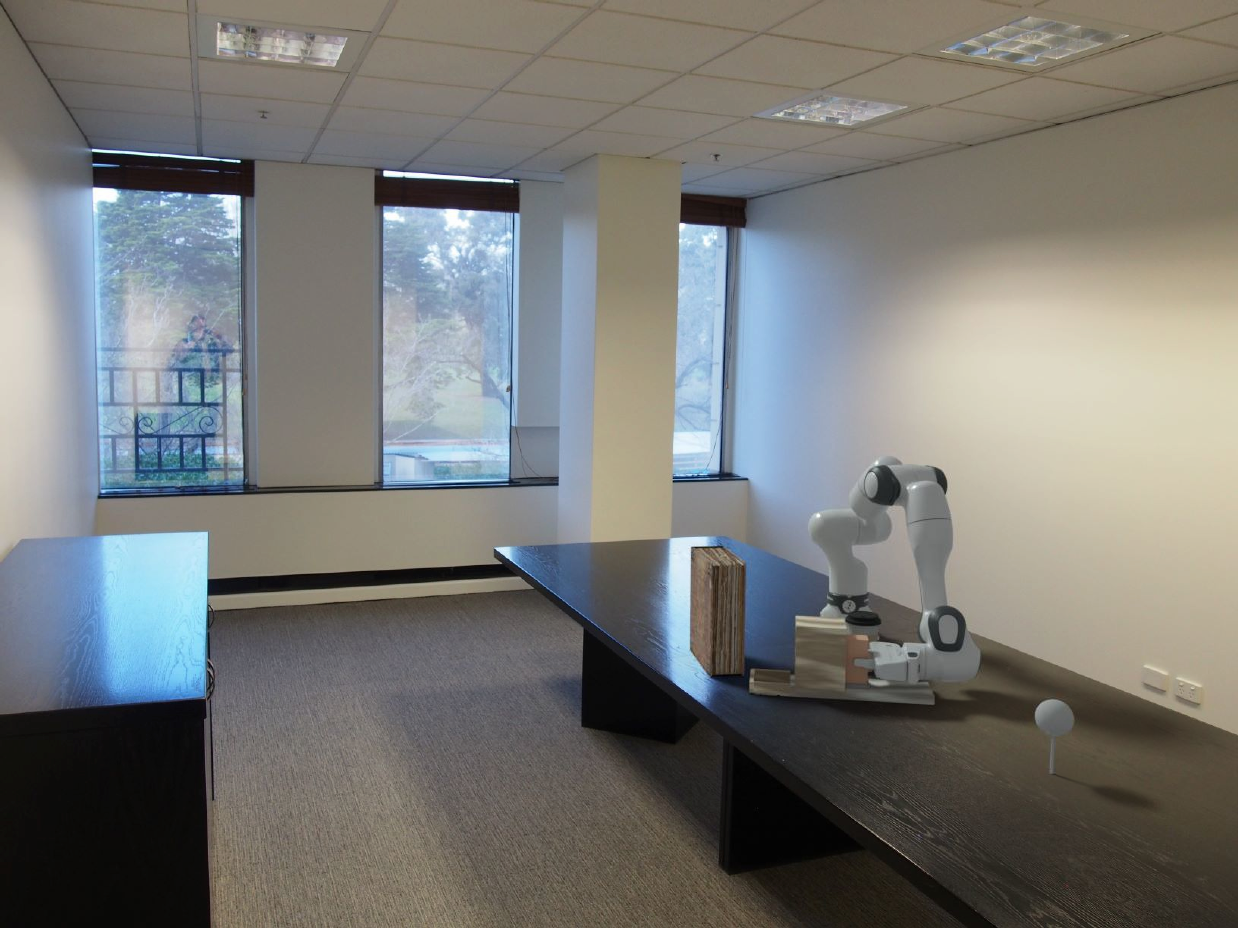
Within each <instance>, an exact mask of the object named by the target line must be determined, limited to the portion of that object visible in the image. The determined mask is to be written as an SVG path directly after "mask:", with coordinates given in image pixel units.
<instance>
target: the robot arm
mask: <svg viewBox="0 0 1238 928" xmlns="http://www.w3.org/2000/svg"><path fill="white" fill-rule="evenodd" d="M948 488H949V487H948V478H947V477H946V474H945V473H944V471H943V470H942V469H941V468H939V467H937V466H932V465H922V464H921V465H918V464H909V463H908V464H907V463H906V464H904V463H903V462H901V460H899V459H898V458H897V457H894V456H891V455H882V456H881V455H880V457H877V458H876V459H875V460H873V461H872V463H871V464H869V466H867V468H866V469H865V470H864V471H863V472H862V474H861V475H860V476H859V478H858V480H857V481H856V483H855V484H854V485H853V487H852V489H851V490H850V492H849V494H848V495H849V496H848V502H849V508H832V509H831V508H830V509H825V510H821V511H818V512H814V513H812V515H811V517H810V519H809V520H808V523H807V532H808V535H809V537H810V539H811V541H812V542H813V543H814V544H815V545H817V546H818V547H819V548H820V549H821V551H822V552H823V554H824V556H825V558H826V561H827V565H828V577H829V578H828V584H829V585H828V587H829V588H828V590H827V594H826V602H827V605H826V606H825V607H823V609H822V610H821V611H820V613H819V617H835V618H844V620H845V619H846V617H847V616H848V613H849V612H852V611H869V612H873V611H872V609H870V608H869V601H870V597H869V592H868V581H869V580H868V577H869V576H868V575H869V573H868V572H869V569H868V566H867V565H866V563H865V562H863V560H861V559H860V558H857V557H855V555H854V553H853V546H872V545H876V544H880V543H883V542H885V541H887V540H888V539H889V537H890V536H891V534H892V529H893V523H892V520H891V517H890V515H889V514H888V512H887V510H888V509H889V507H893V506H897V507H902V508H903V510H904V513H905V523H906V531H907V535H908V541H909V544H910V549H911V552H912V554H913V558H914V562H915V565H916V570H917V574H918V582H919V592H920V593H919V594H920V599H921V600H920V601H921V616H920V619H919V621H918V625H917V636H918V639H919V641H920V643H919V642H903V644H902V647H901V645H899V644H897V643H895V642H893V643H892V642H885V641H880V636H879V635H878V639H877V642H870V643H869V649H868V659H862V658H857V657H855V658H854V665H855V666H862V667H865V668H868V669H873V672H874V675H875V677H876V678H877V679H879V680H891V681H906V682H907V683H908V684H916V683H917V682H919V681H927V680H937V681H940V682H950V683H951V682H955V683H956V682H957V683H960V682H970V681H972V680H974V679H975V678H976V677H977V676H978V674H979V673H980V672H979V671H980V669H981V663H982V652H981V650H980V649H979V648H978V647H977V645H976V644H975V642H974V641H973V639H972V636H971V635H970V633H969V628H968V626H967V623H966V619H965V617H964V615H963V613H962V612H961V611H960V610H959V609H957V608H956V607H953V606H952V605H948V599H947V589H946V582H945V581H946V580H945V579H946V577H945V573H946V568H947V567H946V566H947V564H948V560H949V558H950V555H951V553H952V550H953V548H954V528H953V520H952V516H951V510H950V507H949V502H948V500H947V499H948V498H947V497H946V495H947V492H948ZM845 624H846V628H847V630H848V626H847V622H845Z"/></svg>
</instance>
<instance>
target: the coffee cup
mask: <svg viewBox="0 0 1238 928" xmlns="http://www.w3.org/2000/svg"><path fill="white" fill-rule="evenodd" d="M845 622H847V626H848V630H847V634H849V635H867V637H868V640H869V643H870V642H878V640H877V639H878V636H879V627H880V625H882V619H881V618H880V616H879V614H878V613H876V612H874V611H872V612H869V611H852V612H849V613H848V616H847V617H846V619H845ZM868 649H869V644H868ZM871 672H874V669H868V673H871Z"/></svg>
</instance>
